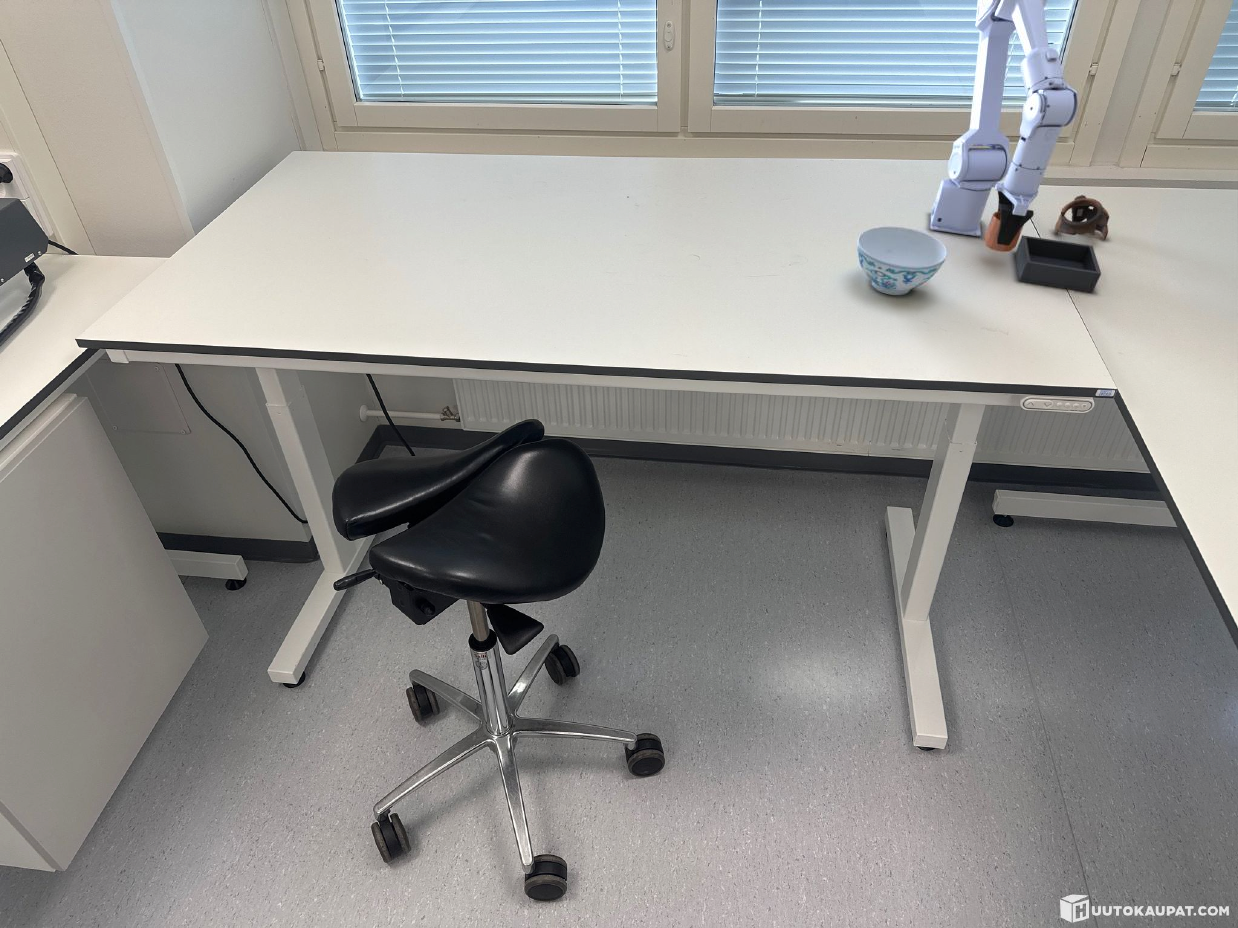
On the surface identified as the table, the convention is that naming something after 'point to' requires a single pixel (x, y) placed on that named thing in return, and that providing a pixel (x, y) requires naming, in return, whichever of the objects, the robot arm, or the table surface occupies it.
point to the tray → (1057, 264)
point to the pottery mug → (1083, 218)
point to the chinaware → (899, 258)
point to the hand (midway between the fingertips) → (1001, 236)
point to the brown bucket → (993, 233)
